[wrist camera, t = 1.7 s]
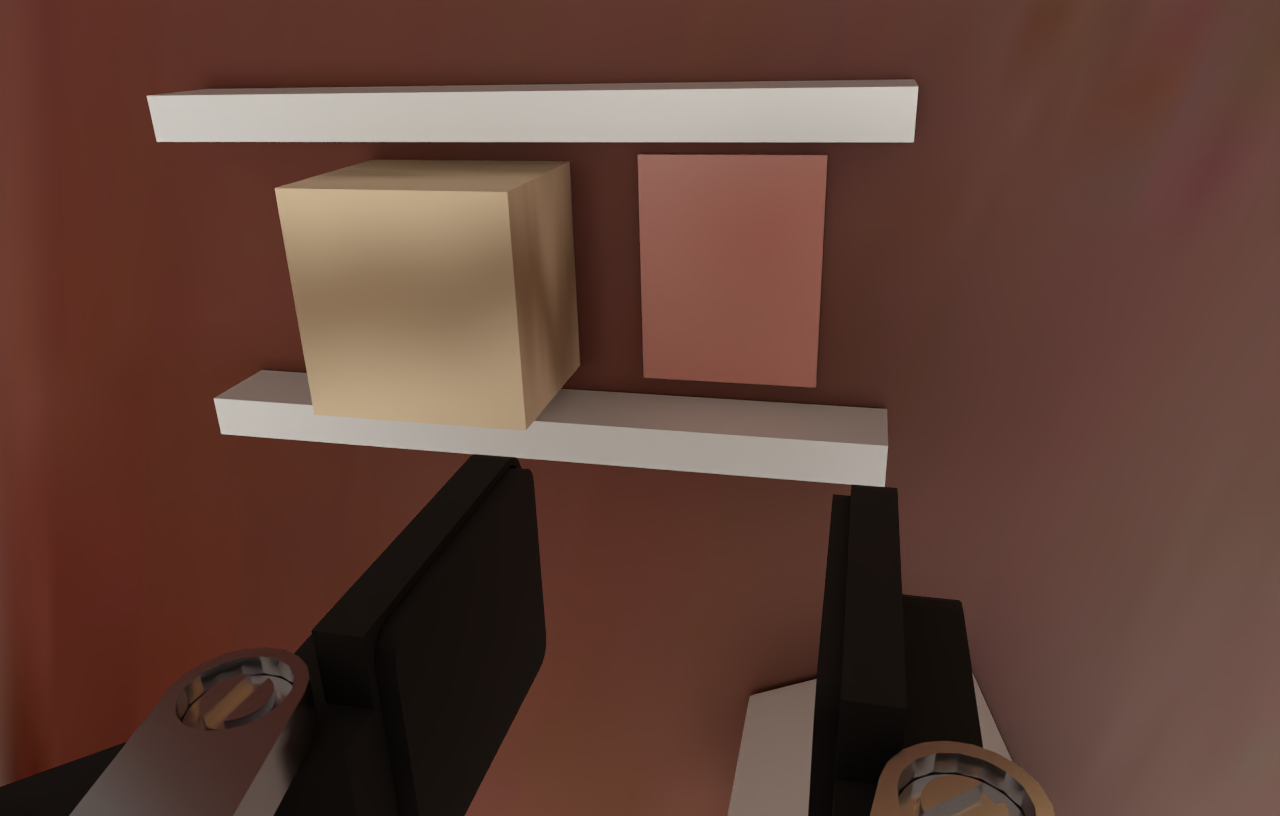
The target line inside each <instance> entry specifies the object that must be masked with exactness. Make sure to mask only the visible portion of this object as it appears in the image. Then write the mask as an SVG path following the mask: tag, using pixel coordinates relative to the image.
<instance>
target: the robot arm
mask: <svg viewBox="0 0 1280 816" xmlns="http://www.w3.org/2000/svg"><path fill="white" fill-rule="evenodd" d="M545 649H546V630H545V617H544V605H543V592H542V580H541V567H540V555H539V542H538V529H537V517H536V504H535V492H534V481H533V475H532V472H531V471H530V470H529V469H521V466H520V463H519V461H518V460H517V458H516V457H504V456H492V455H479V454H474V455H472V456H471V457H470V458H469V459H468V460H467V461H466V462H465V463H464V464H463V465H462V467H461V468H460V469H459V470H458V471H457V472H456V473H455V474H454V475H453V476H452V477H451V479H450V480H449V481H448V482H447V483H446V484H445V485H444V486H443V487H442V488H441V490H440V491H439V492H438V493H437V494H436V495H435V496H434V497H433V498H432V499H431V500H430V502H429V503H428V504H427V505H426V506H425V507H424V508H423V509H422V510H421V511H420V512H419V514H418V515H417V516H416V517H415V518H414V519H413V520H412V521H411V522H410V523H409V525H408V526H407V527H406V528H405V529H404V530H403V531H402V532H401V533H400V534H399V535H398V537H397V538H396V539H395V540H394V541H393V542H392V543H391V544H390V545H389V546H388V548H387V549H386V550H385V551H384V552H383V553H382V554H381V555H380V556H379V557H378V558H377V560H376V561H375V562H374V563H373V564H372V565H371V566H370V567H369V568H368V569H367V570H366V572H365V573H364V574H363V575H362V576H361V577H360V578H359V579H358V580H357V581H356V583H355V584H354V585H353V586H352V587H351V588H350V589H349V590H348V591H347V592H346V593H345V595H344V596H343V597H342V598H341V599H340V600H339V601H338V602H337V603H336V604H335V605H334V607H333V608H332V609H331V610H330V611H329V612H328V613H327V614H326V615H325V616H324V618H323V619H322V620H321V621H320V622H319V623H318V624H317V625H316V626H315V627H314V628H313V630H312V634H311V636H310V637H309V638H308V639H307V640H306V641H305V642H304V643H303V644H302V645H301V647H300V648H299V649H298V650H297V651H296V652H295V653H294V654H293V653H290V652H288V651H286V650H282V649H273V648H254V649H244V650H240V651H236V652H232V653H228V654H224V655H221V656H219V657H217V658H214V659H212V660H210V661H207V662H205V663H203V664H200V665H199V666H197V667H196V668H194V669H193V670H191V671H190V672H188V673H186V674H185V675H183V676H182V677H181V678H180V679H179V680H178V681H177V682H176V683H175V684H174V685H173V686H172V687H171V688H170V689H169V690H168V691H167V692H166V693H165V694H164V696H163V697H162V698H161V700H160V701H159V702H158V703H157V705H156V706H155V707H154V708H153V710H152V711H151V712H150V714H149V715H148V716H147V717H146V719H145V720H144V721H143V722H142V724H141V725H140V726H139V728H138V729H137V730H136V731H135V733H134V734H133V735H132V736H131V738H130V739H129V740H128V742H125V743H123V744H120V745H117V746H114V747H111V748H109V749H106V750H103V751H100V752H97V753H95V754H92V755H89V756H86V757H83V758H80V759H78V760H75V761H72V762H69V763H66V764H64V765H61V766H58V767H55V768H52V769H50V770H47V771H44V772H41V773H38V774H36V775H33V776H30V777H27V778H24V779H22V780H19V781H16V782H13V783H10V784H7V785H5V786H2V787H0V816H464V815H465V814H466V812H467V810H468V808H469V806H470V804H471V802H472V800H473V798H474V796H475V794H476V792H477V790H478V788H479V786H480V784H481V782H482V780H483V778H484V776H485V775H486V773H487V771H488V769H489V767H490V765H491V763H492V761H493V759H494V757H495V755H496V753H497V751H498V749H499V747H500V745H501V743H502V741H503V739H504V737H505V736H506V734H507V732H508V730H509V728H510V726H511V724H512V722H513V720H514V718H515V716H516V714H517V712H518V710H519V708H520V706H521V704H522V702H523V700H524V698H525V697H526V695H527V693H528V691H529V689H530V687H531V685H532V683H533V681H534V679H535V677H536V675H537V673H538V671H539V669H540V667H541V665H542V662H543V659H544V655H545ZM808 816H1055V814H1054V809H1053V805H1052V803H1051V802H1050V800H1049V798H1048V797H1047V795H1046V793H1045V792H1044V790H1043V789H1042V787H1041V785H1040V784H1039V783H1038V782H1037V781H1035V780H1034V779H1033V778H1032V777H1031V776H1030V775H1029V774H1028V773H1027V772H1026V771H1025V770H1024V769H1023V768H1022V767H1020V766H1018V765H1017V764H1015V763H1013V762H1012V761H1010V760H1008V759H1007V758H1005V757H1003V756H1002V755H1000V754H998V753H995V752H993V751H990V750H987V749H984V748H983V743H982V736H981V729H980V722H979V716H978V709H977V702H976V695H975V688H974V681H973V674H972V668H971V661H970V654H969V647H968V640H967V633H966V626H965V620H964V613H963V608H962V603H961V602H960V601H959V600H950V599H941V598H931V597H921V596H912V595H902V582H901V559H900V537H899V515H898V492H897V488H890V487H878V486H865V485H853V484H852V486H851V496H846V495H834V494H833V501H832V512H831V523H830V534H829V546H828V557H827V568H826V579H825V591H824V602H823V613H822V624H821V635H820V647H819V658H818V669H817V680H816V693H815V707H814V722H813V739H812V757H811V774H810V792H809V809H808Z"/></svg>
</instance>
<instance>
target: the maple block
mask: <svg viewBox="0 0 1280 816" xmlns="http://www.w3.org/2000/svg"><path fill="white" fill-rule="evenodd" d="M275 193H276V199H277V204H278V210H279V216H280V222H281V227H282V233H283V239H284V244H285V250H286V256H287V262H288V267H289V273H290V279H291V284H292V290H293V296H294V302H295V307H296V313H297V319H298V324H299V330H300V336H301V342H302V347H303V353H304V359H305V364H306V370H307V376H308V382H309V387H310V393H311V399H312V404H313V410H314V415H324V416H337V417H350V418H364V419H377V420H390V421H404V422H417V423H430V424H444V425H457V426H470V427H484V428H497V429H510V430H524V431H526V430H527V429H528V428H529V427H530V425H531V424H532V423H533V422H534V421H535V419H536V418H537V417H538V416H539V415H540V413H541V412H542V411H543V410H544V408H545V407H546V406H547V405H548V404H549V402H550V401H551V400H552V399H553V398H554V396H555V395H556V394H557V393H558V392H559V390H560V389H561V388H562V387H563V386H564V384H565V383H566V382H567V381H568V379H569V378H570V377H571V376H572V375H573V373H574V372H575V371H576V370H577V369H578V367H579V366H580V351H579V332H578V313H577V293H576V274H575V255H574V236H573V217H572V197H571V178H570V161H486V160H369V161H365V162H362V163H358V164H355V165H352V166H348V167H345V168H342V169H338V170H335V171H331V172H328V173H325V174H321V175H318V176H314V177H311V178H308V179H304V180H301V181H298V182H294V183H291V184H287V185H284V186H281V187H277V188H275Z"/></svg>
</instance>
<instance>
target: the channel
mask: <svg viewBox="0 0 1280 816" xmlns="http://www.w3.org/2000/svg"><path fill="white" fill-rule="evenodd" d="M917 98H918V85H917V83H916V81H915V80H914V79H897V80H824V81H751V82H678V83H605V84H532V85H459V86H386V87H313V88H240V89H202V90H193V91H184V92H175V93H167V94H158V95H149V96H147V99H148V104H149V108H150V113H151V117H152V122H153V127H154V131H155V136H156V140H157V142H914V133H915V122H916V110H917ZM827 159H828V154H638V187H639V224H640V261H641V298H642V335H643V372H644V378H659V379H676V380H694V381H711V382H728V383H745V384H762V385H779V386H796V387H814V388H816V379H817V359H818V339H819V319H820V299H821V279H822V259H823V239H824V219H825V199H826V179H827ZM214 403H215V407H216V412H217V416H218V421H219V425H220V430H221V434H228V435H240V436H253V437H265V438H278V439H290V440H302V441H315V442H327V443H340V444H352V445H365V446H377V447H389V448H402V449H414V450H427V451H439V452H452V453H464V454H479V455H492V456H504V457H516V458H526V459H539V460H551V461H564V462H576V463H588V464H601V465H613V466H626V467H638V468H651V469H663V470H676V471H688V472H700V473H713V474H725V475H738V476H750V477H763V478H775V479H787V480H800V481H812V482H825V483H837V484H850V485H852V484H853V485H865V486H878V487H885V477H886V465H887V453H888V425H887V409H879V408H863V407H847V406H831V405H815V404H799V403H783V402H766V401H750V400H734V399H718V398H702V397H686V396H670V395H654V394H638V393H622V392H606V391H590V390H574V389H560V390H559V392H558V393H557V394H556V395H555V396H554V398H553V399H552V400H551V401H550V402H549V404H548V405H547V406H546V407H545V408H544V410H543V411H542V412H541V413H540V415H539V416H538V417H537V418H536V419H535V421H534V422H533V423H532V424H531V425H530V427H529V428H528V429H527V430H526V431H524V430H510V429H497V428H484V427H470V426H457V425H444V424H430V423H417V422H404V421H390V420H377V419H364V418H350V417H337V416H324V415H314V410H313V404H312V399H311V393H310V387H309V382H308V376H307V373H301V372H285V371H269V370H261V371H260V372H258V373H256V374H254V375H253V376H251V377H249V378H248V379H246V380H244V381H242V382H241V383H239V384H237V385H236V386H234V387H232V388H230V389H229V390H227V391H225V392H223V393H222V394H220V395H218V396H217V397H215V398H214Z"/></svg>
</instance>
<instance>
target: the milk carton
mask: <svg viewBox="0 0 1280 816" xmlns="http://www.w3.org/2000/svg"><path fill="white" fill-rule="evenodd" d="M972 674H973V673H972ZM816 680H817V679H814V680H810V681H806V682H802V683H798V684H794V685H790V686H786V687H782V688H778V689H774V690H770V691H766V692H762V693H758V694H754V695H751V696H750V698H749V702H748V707H747V712H746V718H745V723H744V729H743V734H742V739H741V745H740V750H739V756H738V761H737V766H736V772H735V777H734V783H733V788H732V793H731V799H730V804H729V810H728V815H727V816H808V809H809V792H810V774H811V757H812V739H813V722H814V707H815V693H816ZM973 681H974V688H975V695H976V702H977V709H978V716H979V722H980V729H981V736H982V743H983V748H984V749H987V750H990V751H993V752H995V753H998V754H1000V755H1002V756H1003V757H1005V758H1007V759H1008V760H1010V761H1012V760H1011V758H1010V755H1009V753H1008V751H1007V749H1006V746H1005V744H1004V742H1003V740H1002V737H1001V735H1000V733H999V731H998V728H997V726H996V724H995V722H994V719H993V717H992V715H991V713H990V711H989V708H988V706H987V704H986V702H985V699H984V697H983V695H982V693H981V690H980V688H979V686H978V684H977V681H976V679H975V677H974V675H973Z"/></svg>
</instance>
